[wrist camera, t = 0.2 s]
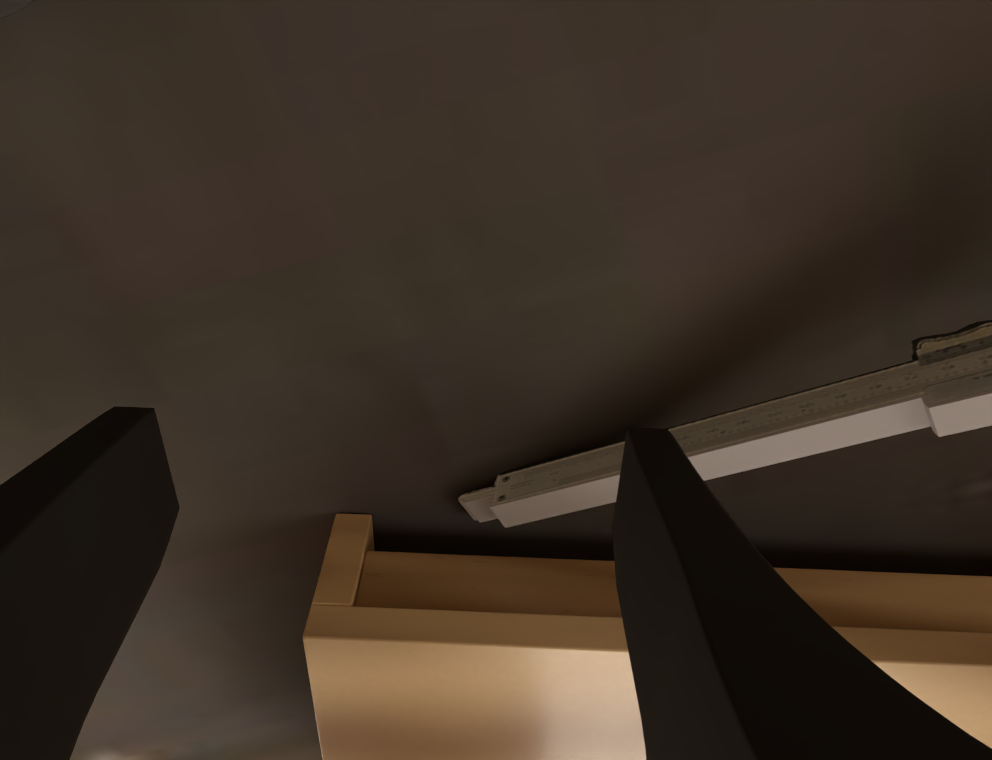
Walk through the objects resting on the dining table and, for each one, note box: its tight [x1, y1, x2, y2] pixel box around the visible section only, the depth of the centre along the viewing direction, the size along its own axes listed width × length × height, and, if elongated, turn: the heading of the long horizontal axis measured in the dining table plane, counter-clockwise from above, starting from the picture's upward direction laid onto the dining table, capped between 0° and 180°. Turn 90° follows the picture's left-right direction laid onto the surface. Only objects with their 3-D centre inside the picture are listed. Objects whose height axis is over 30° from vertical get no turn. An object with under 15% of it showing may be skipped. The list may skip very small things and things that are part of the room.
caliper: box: [458, 320, 992, 528], centre depth 21 cm, size 20×1×6 cm, turn 120°
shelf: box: [303, 513, 992, 760], centre depth 28 cm, size 10×26×5 cm, turn 88°
